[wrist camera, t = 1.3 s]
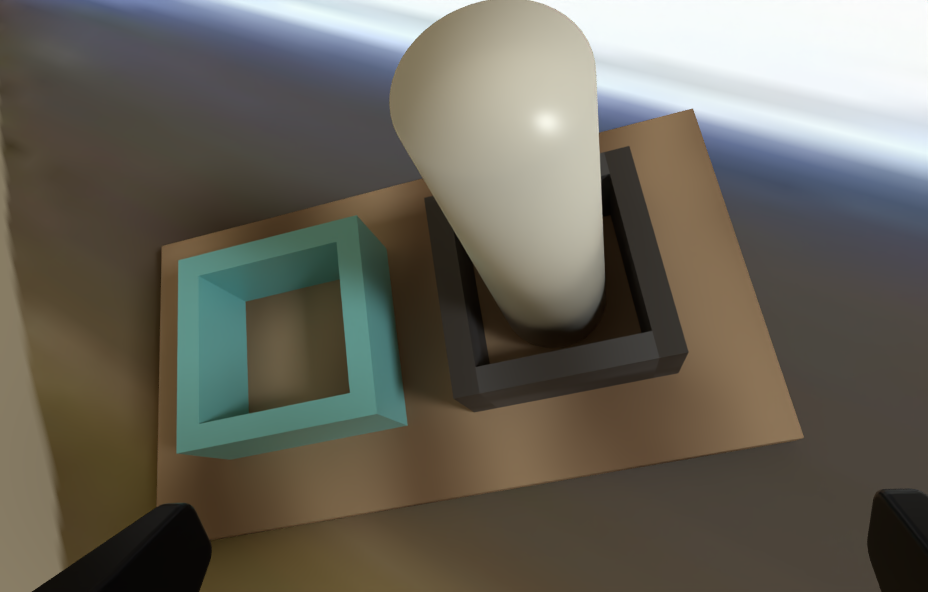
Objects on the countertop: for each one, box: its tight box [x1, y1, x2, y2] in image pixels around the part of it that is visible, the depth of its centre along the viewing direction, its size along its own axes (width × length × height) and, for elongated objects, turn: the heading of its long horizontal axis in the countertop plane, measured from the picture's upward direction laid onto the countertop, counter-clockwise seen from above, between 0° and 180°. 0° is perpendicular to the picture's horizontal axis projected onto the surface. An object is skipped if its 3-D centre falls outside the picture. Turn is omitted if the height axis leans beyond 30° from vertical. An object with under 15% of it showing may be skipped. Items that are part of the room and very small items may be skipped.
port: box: [176, 215, 408, 460], centre depth 22 cm, size 7×7×3 cm
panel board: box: [157, 109, 804, 540], centre depth 22 cm, size 22×12×4 cm, turn 99°
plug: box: [389, 0, 606, 348], centre depth 16 cm, size 4×4×12 cm
